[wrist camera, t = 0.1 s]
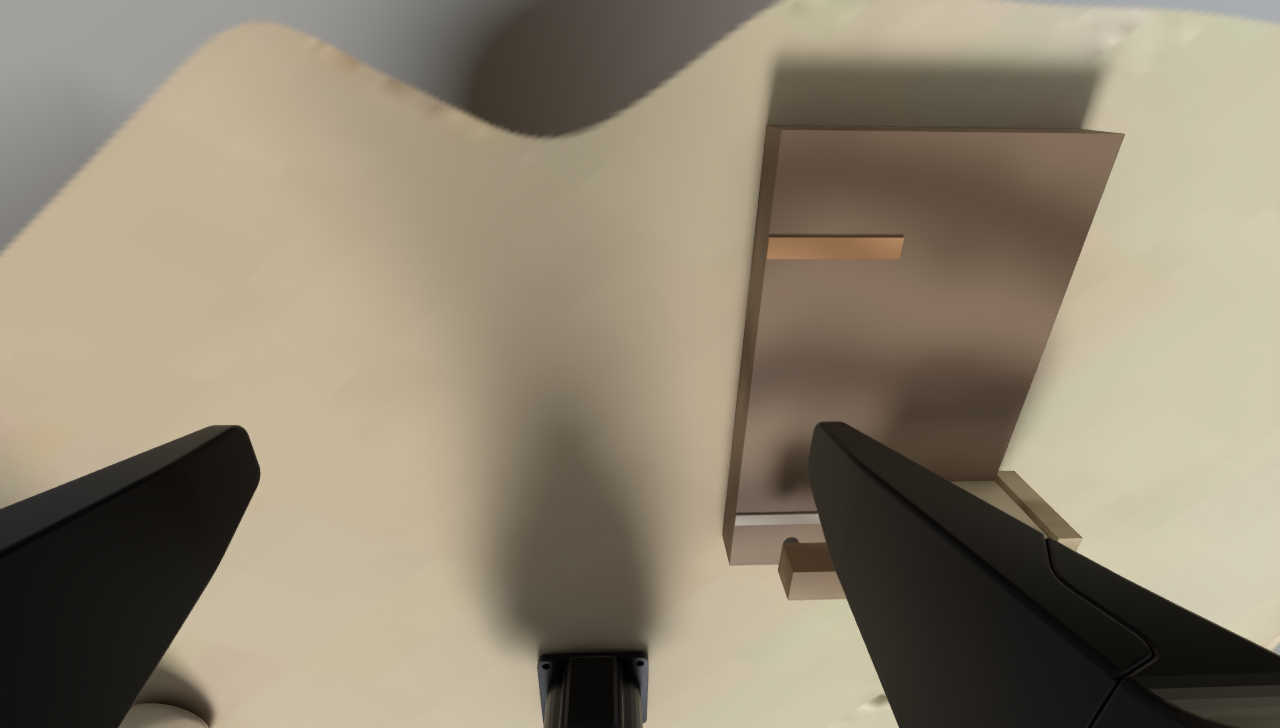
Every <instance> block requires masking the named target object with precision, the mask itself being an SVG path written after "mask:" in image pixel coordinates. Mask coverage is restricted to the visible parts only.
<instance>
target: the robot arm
mask: <svg viewBox="0 0 1280 728" xmlns="http://www.w3.org/2000/svg"><path fill="white" fill-rule="evenodd" d="M807 475H808V480H809V483H810V487H811V490H812V494H813V498H814V501H815V505H816V509H817V512H818V516H819V519H820V523H821V527H822V530H823V534H824V537H825V541H826V545H827V548H828V551H829V555H830V558H831V561H832V563H833V566H834V569H835V571H836V574H837V576H838V579H839V581H840V584H841V586H842V588H843V591H844V593H845V596H846V598H847V601H848V603H849V606H850V608H851V611H852V613H853V615H854V618H855V620H856V623H857V625H858V628H859V630H860V633H861V635H862V638H863V640H864V642H865V645H866V647H867V650H868V652H869V655H870V657H871V660H872V662H873V665H874V667H875V669H876V672H877V674H878V677H879V679H880V682H881V684H882V687H883V689H884V692H885V694H886V696H887V699H888V701H889V704H890V706H891V709H892V711H893V714H894V716H895V719H896V721H897V724H898V726H899V728H1280V655H1278V654H1276V653H1274V652H1272V651H1270V650H1268V649H1266V648H1264V647H1262V646H1260V645H1258V644H1256V643H1254V642H1252V641H1250V640H1248V639H1246V638H1244V637H1242V636H1240V635H1238V634H1236V633H1233V632H1231V631H1229V630H1227V629H1225V628H1223V627H1221V626H1219V625H1217V624H1215V623H1213V622H1211V621H1209V620H1207V619H1205V618H1203V617H1201V616H1199V615H1197V614H1195V613H1193V612H1191V611H1189V610H1187V609H1185V608H1183V607H1181V606H1179V605H1177V604H1175V603H1173V602H1171V601H1169V600H1167V599H1165V598H1163V597H1161V596H1159V595H1157V594H1155V593H1153V592H1151V591H1149V590H1147V589H1145V588H1143V587H1141V586H1139V585H1137V584H1136V583H1134V582H1132V581H1130V580H1128V579H1126V578H1124V577H1122V576H1120V575H1118V574H1116V573H1114V572H1112V571H1111V570H1109V569H1107V568H1105V567H1103V566H1101V565H1099V564H1098V563H1096V562H1094V561H1092V560H1090V559H1088V558H1087V557H1085V556H1083V555H1081V554H1079V553H1077V552H1075V551H1074V550H1072V549H1070V548H1068V547H1067V546H1065V545H1063V544H1061V543H1060V542H1058V541H1056V540H1054V539H1052V538H1050V537H1048V538H1045V535H1044V534H1043V533H1041V532H1040V531H1038V530H1036V529H1034V528H1032V527H1031V526H1029V525H1027V524H1025V523H1023V522H1022V521H1020V520H1018V519H1016V518H1015V517H1013V516H1011V515H1009V514H1007V513H1006V512H1004V511H1002V510H1000V509H998V508H997V507H995V506H993V505H991V504H989V503H988V502H986V501H984V500H982V499H980V498H979V497H977V496H975V495H973V494H971V493H970V492H968V491H966V490H964V489H962V488H961V487H959V486H957V485H955V484H954V483H952V482H950V481H948V480H946V479H945V478H943V477H941V476H939V475H937V474H936V473H934V472H932V471H930V470H928V469H927V468H925V467H923V466H921V465H919V464H918V463H916V462H914V461H912V460H911V459H909V458H907V457H905V456H903V455H902V454H900V453H898V452H896V451H894V450H893V449H891V448H889V447H887V446H885V445H884V444H882V443H880V442H878V441H876V440H875V439H873V438H871V437H869V436H868V435H866V434H864V433H862V432H860V431H859V430H857V429H855V428H853V427H851V426H850V425H848V424H846V423H844V422H840V421H822V422H819V423H817V424H816V426H815V428H814V431H813V436H812V441H811V446H810V451H809V456H808V461H807ZM259 480H260V467H259V464H258V461H257V458H256V455H255V452H254V450H253V447H252V444H251V441H250V438H249V435H248V433H247V431H246V430H245V429H244V428H243V427H241V426H239V425H213V426H209V427H206V428H204V429H201V430H199V431H196V432H194V433H191V434H189V435H186V436H184V437H181V438H179V439H176V440H173V441H171V442H168V443H166V444H163V445H161V446H158V447H156V448H153V449H151V450H148V451H146V452H143V453H141V454H138V455H136V456H133V457H131V458H128V459H126V460H123V461H121V462H118V463H116V464H113V465H111V466H108V467H105V468H103V469H100V470H98V471H95V472H93V473H90V474H88V475H85V476H83V477H80V478H78V479H75V480H73V481H70V482H68V483H65V484H63V485H60V486H58V487H55V488H53V489H50V490H48V491H45V492H43V493H40V494H37V495H35V496H32V497H30V498H27V499H25V500H22V501H20V502H17V503H15V504H12V505H10V506H7V507H5V508H2V509H0V728H119V727H120V725H121V723H122V722H123V720H124V718H125V717H126V715H127V714H128V712H129V710H130V709H131V707H132V706H133V704H134V702H135V701H136V699H137V698H138V696H139V694H140V693H141V691H142V690H143V688H144V686H145V685H146V683H147V681H148V680H149V678H150V677H151V675H152V673H153V672H154V670H155V669H156V667H157V665H158V664H159V662H160V661H161V659H162V657H163V656H164V654H165V653H166V651H167V649H168V648H169V646H170V644H171V643H172V641H173V640H174V638H175V636H176V635H177V633H178V632H179V630H180V628H181V627H182V625H183V624H184V622H185V620H186V619H187V617H188V615H189V614H190V612H191V611H192V609H193V607H194V606H195V604H196V603H197V601H198V599H199V598H200V596H201V595H202V593H203V591H204V590H205V588H206V587H207V585H208V583H209V581H210V580H211V578H212V576H213V575H214V573H215V571H216V569H217V567H218V566H219V564H220V562H221V560H222V558H223V556H224V554H225V552H226V550H227V548H228V546H229V544H230V542H231V540H232V538H233V536H234V534H235V531H236V529H237V527H238V525H239V523H240V521H241V519H242V517H243V515H244V513H245V511H246V509H247V507H248V505H249V503H250V501H251V499H252V497H253V494H254V492H255V490H256V488H257V486H258V484H259ZM537 669H538V678H539V688H540V697H541V706H542V716H543V724H544V728H643V723H645V722H646V720H647V694H648V655H647V654H646V653H644V652H616V653H585V654H554V655H542V656H540V657H539V659H538V665H537Z"/></svg>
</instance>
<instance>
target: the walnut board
mask: <svg viewBox="0 0 1280 728" xmlns="http://www.w3.org/2000/svg"><path fill="white" fill-rule="evenodd" d="M1124 136H1125V134H1121V133H1112V132H1103V131H1094V130H1085V129H1031V128H948V127H865V126H782V125H767V127H766V136H765V146H764V155H763V164H762V174H761V183H760V192H759V202H758V211H757V220H756V230H755V239H754V248H753V257H752V267H751V276H750V285H749V295H748V304H747V313H746V323H745V332H744V341H743V351H742V360H741V369H740V378H739V388H738V397H737V406H736V416H735V425H734V434H733V444H732V453H731V462H730V472H729V481H728V490H727V500H726V509H725V518H724V527H723V540H724V544H725V548H726V553H727V557H728V561H729V565H730V566H733V565H772V564H779V561H780V555H781V549H782V544H783V542H784V541H785V540H786V539H787V538H790V537H794V538H797V539H798V541H799V543H819V542H826V541H825V537H824V534H823V530H822V527H821V523H820V519H819V516H818V512H817V509H816V505H815V501H814V498H813V494H812V490H811V487H810V483H809V480H808V475H807V461H808V456H809V451H810V446H811V441H812V436H813V431H814V428H815V426H816V424H817V423H819V422H822V421H840V422H844V423H846V424H848V425H850V426H851V427H853V428H855V429H857V430H859V431H860V432H862V433H864V434H866V435H868V436H869V437H871V438H873V439H875V440H876V441H878V442H880V443H882V444H884V445H885V446H887V447H889V448H891V449H893V450H894V451H896V452H898V453H900V454H902V455H903V456H905V457H907V458H909V459H911V460H912V461H914V462H916V463H918V464H919V465H921V466H923V467H925V468H927V469H928V470H930V471H932V472H934V473H936V474H937V475H939V476H941V477H943V478H945V479H946V480H948V481H950V482H959V481H995V478H996V476H997V473H998V470H999V468H1000V465H1001V462H1002V460H1003V457H1004V455H1005V452H1006V449H1007V447H1008V444H1009V441H1010V439H1011V436H1012V433H1013V431H1014V428H1015V425H1016V423H1017V420H1018V417H1019V415H1020V412H1021V409H1022V407H1023V404H1024V401H1025V399H1026V396H1027V393H1028V391H1029V388H1030V385H1031V383H1032V380H1033V377H1034V375H1035V372H1036V369H1037V367H1038V364H1039V362H1040V359H1041V356H1042V354H1043V351H1044V348H1045V346H1046V343H1047V340H1048V338H1049V335H1050V332H1051V330H1052V327H1053V324H1054V322H1055V319H1056V316H1057V314H1058V311H1059V308H1060V306H1061V303H1062V300H1063V298H1064V295H1065V292H1066V290H1067V287H1068V284H1069V282H1070V279H1071V277H1072V274H1073V271H1074V269H1075V266H1076V263H1077V261H1078V258H1079V255H1080V253H1081V250H1082V247H1083V245H1084V242H1085V239H1086V237H1087V234H1088V231H1089V229H1090V226H1091V223H1092V221H1093V218H1094V215H1095V213H1096V210H1097V207H1098V205H1099V202H1100V199H1101V197H1102V194H1103V192H1104V189H1105V186H1106V184H1107V181H1108V178H1109V176H1110V173H1111V170H1112V168H1113V165H1114V162H1115V160H1116V157H1117V154H1118V152H1119V149H1120V146H1121V144H1122V141H1123V138H1124Z"/></svg>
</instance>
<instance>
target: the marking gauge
mask: <svg viewBox="0 0 1280 728" xmlns="http://www.w3.org/2000/svg"><path fill="white" fill-rule="evenodd" d="M952 483H954V484H955V485H957V486H959V487H961V488H962V489H964V490H966V491H968V492H970V493H971V494H973V495H975V496H977V497H979V498H980V499H982V500H984V501H986V502H988V503H989V504H991V505H993V506H995V507H997V508H998V509H1000V510H1002V511H1004V512H1006V513H1007V514H1009V515H1011V516H1013V517H1015V518H1016V519H1018V520H1020V521H1022V522H1023V523H1025V524H1027V525H1029V526H1031V527H1032V528H1034V529H1036V530H1038V531H1040V532H1041V533H1043V534H1044V535H1045V538H1048V537H1050V538H1052V539H1054V540H1056V541H1058V542H1060V543H1061V544H1063V545H1065V546H1067V547H1068V548H1070V549H1072V550H1074V551H1075V552H1076V551H1077V549H1078V547H1079V545H1080V543H1081V541H1082V539H1083V538H1082V537H1081V536H1080V535H1079V534H1078V533H1077V532H1076V531H1075V530H1074V529H1073V528H1072V527H1071V526H1070V525H1069V524H1068V523H1067V522H1066V521H1065V520H1064V519H1063V518H1062V517H1061V516H1060V515H1059V514H1058V513H1057V512H1056V511H1054V510H1053V509H1052V508H1051V507H1050V506H1049V505H1048V504H1047V503H1046V502H1045V501H1044V500H1043V499H1042V498H1041V497H1040V496H1039V495H1038V494H1037V493H1036V492H1035V491H1034V490H1033V489H1032V488H1031V487H1030V486H1029V485H1028V484H1027V483H1026V482H1025V481H1024V480H1023V479H1022V478H1021V477H1020V476H1019V475H1018V474H1017V473H1016V472H1015V471H998V473H997V476H996V478H995V481H959V482H952ZM778 572H779V575H780V578H781V581H782V584H783V587H784V590H785V593H786V596H787V599H788V600H820V599H847V598H846V596H845V593H844V591H843V588H842V586H841V584H840V581H839V579H838V576H837V574H836V571H835V569H834V566H833V563H832V561H831V558H830V555H829V551H828V548H827V545H826V542H819V543H799V541H798V539H797V538H794V537H790V538H787V539H786V540H785V541H784V542H783V544H782V549H781V555H780V561H779V567H778Z"/></svg>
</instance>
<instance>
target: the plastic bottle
mask: <svg viewBox="0 0 1280 728" xmlns="http://www.w3.org/2000/svg"><path fill="white" fill-rule="evenodd" d="M119 728H209V727H208V725H207V724H206V723H205V722H204V721H203V720H202V719H201V718H199V717H198V716H197V715H195V714H193V713H191V712H189V711H187V710H184V709H182V708H179V707H175V706H171V705H165V704H156V703H146V704H138V705H133V706H132V707H131V709H130V710H129V712H128V714H127V715H126V717H125V718H124V720H123V722H122V723H121V725H120V727H119Z"/></svg>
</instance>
